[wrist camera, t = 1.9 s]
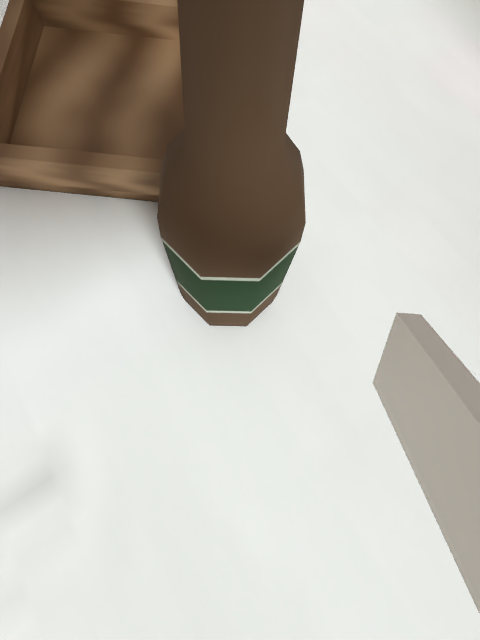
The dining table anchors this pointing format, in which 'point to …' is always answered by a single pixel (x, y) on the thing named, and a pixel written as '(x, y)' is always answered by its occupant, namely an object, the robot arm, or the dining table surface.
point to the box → (89, 95)
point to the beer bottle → (233, 158)
